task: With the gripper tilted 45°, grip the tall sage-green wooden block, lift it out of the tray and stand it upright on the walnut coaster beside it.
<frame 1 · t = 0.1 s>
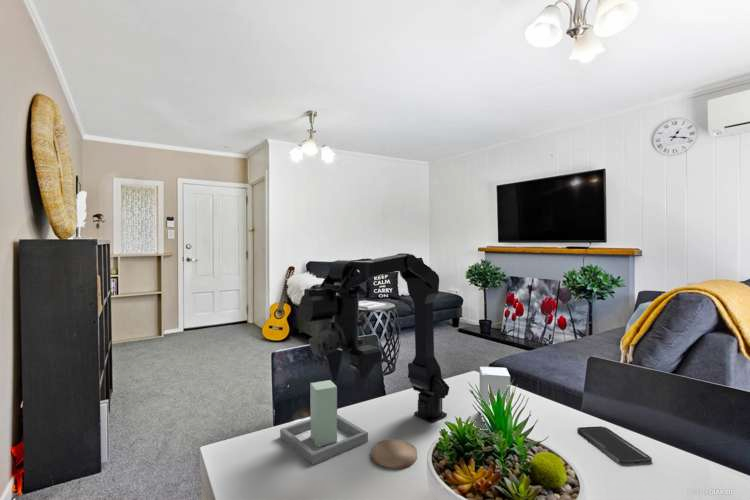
hand: (345, 386, 84), 15 cm above the table, tool pointing down, fingers open, 9 cm apart
phone: (611, 448, 87), on the table
supplement box: (494, 418, 101), on the table
tray: (323, 439, 90), on the table
coaster: (394, 455, 83), on the table
green block: (323, 412, 90), in the tray
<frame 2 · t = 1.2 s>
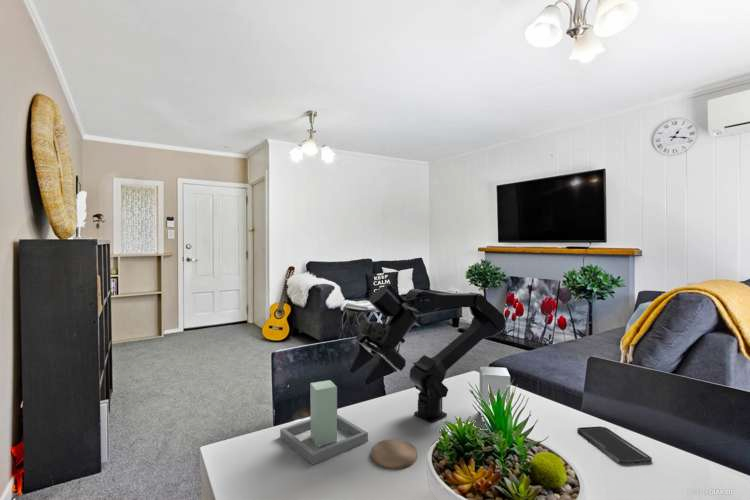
hand: (357, 377, 94), 13 cm above the table, tool tilted 45°, fingers open, 9 cm apart
nothing on the table moved.
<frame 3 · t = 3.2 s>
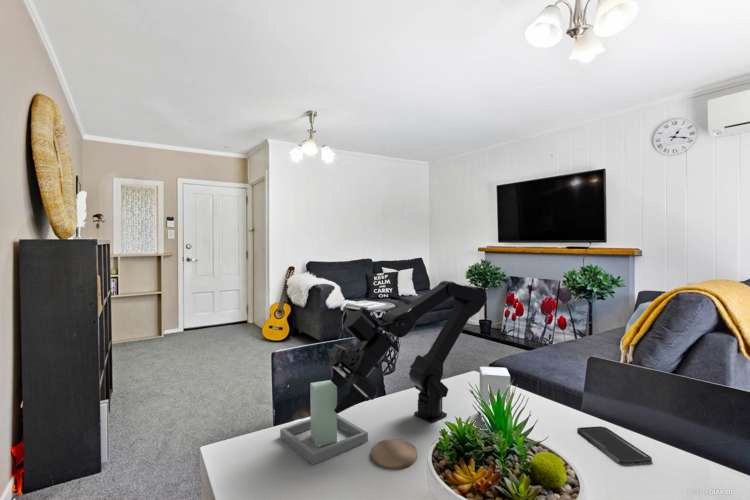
hand: (329, 404, 91), 8 cm above the table, tool tilted 45°, fingers open, 9 cm apart
nothing on the table moved.
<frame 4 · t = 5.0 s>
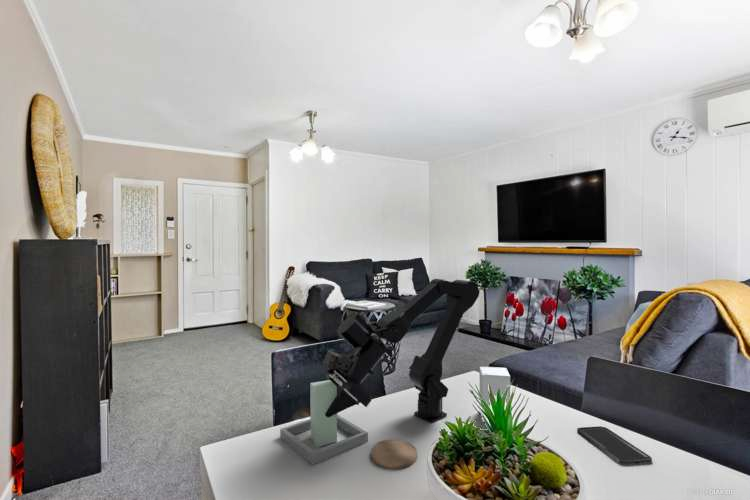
hand: (322, 411, 90), 7 cm above the table, tool tilted 45°, fingers closed on green block, 5 cm apart
green block: (323, 412, 90), in the tray, touching gripper
everything else where it was.
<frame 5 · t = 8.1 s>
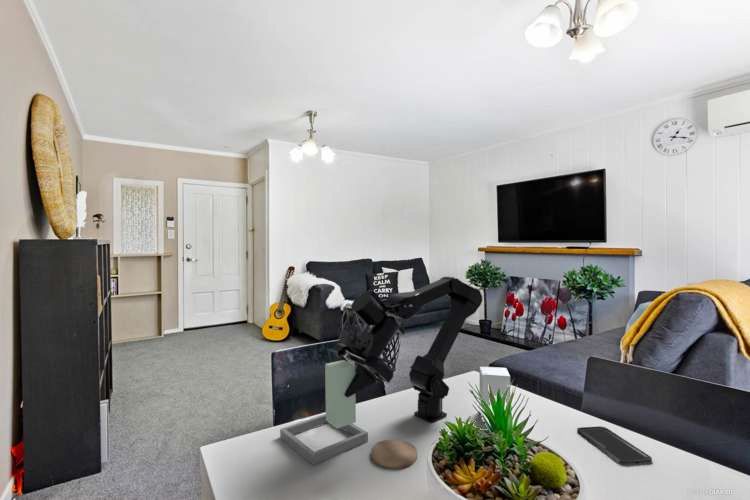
hand: (339, 392, 86), 13 cm above the table, tool tilted 45°, fingers closed on green block, 5 cm apart
green block: (340, 392, 86), point 12 cm above the table, touching gripper
everything else where it was.
when the fingers open (9 cm above the table, at t = 11.5 s): green block drops 1 cm, resting on coaster.
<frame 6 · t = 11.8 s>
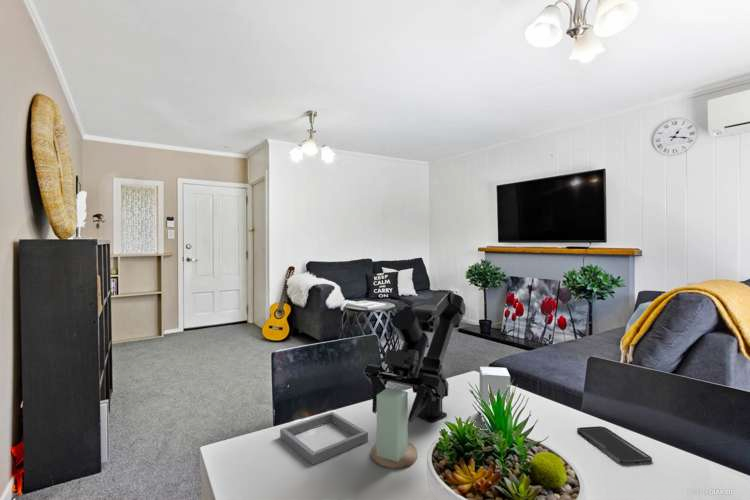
hand: (391, 416, 82), 9 cm above the table, tool tilted 45°, fingers open, 8 cm apart
green block: (392, 423, 82), on the coaster, point 8 cm above the table
everything else where it was.
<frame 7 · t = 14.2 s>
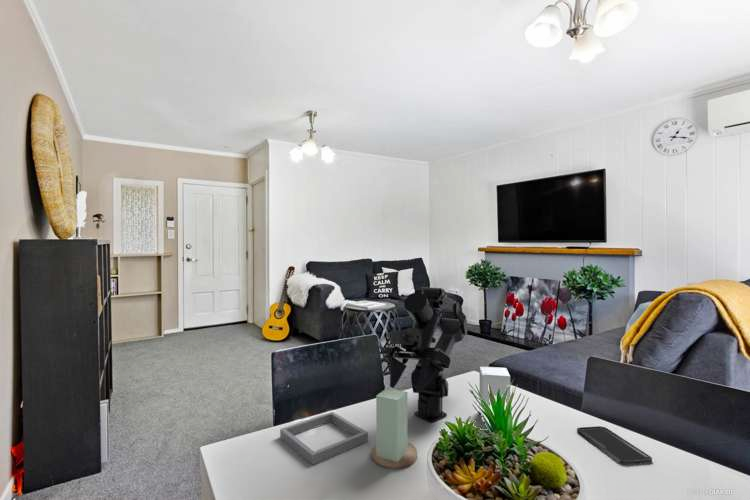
hand: (404, 389, 91), 11 cm above the table, tool tilted 35°, fingers open, 9 cm apart
nothing on the table moved.
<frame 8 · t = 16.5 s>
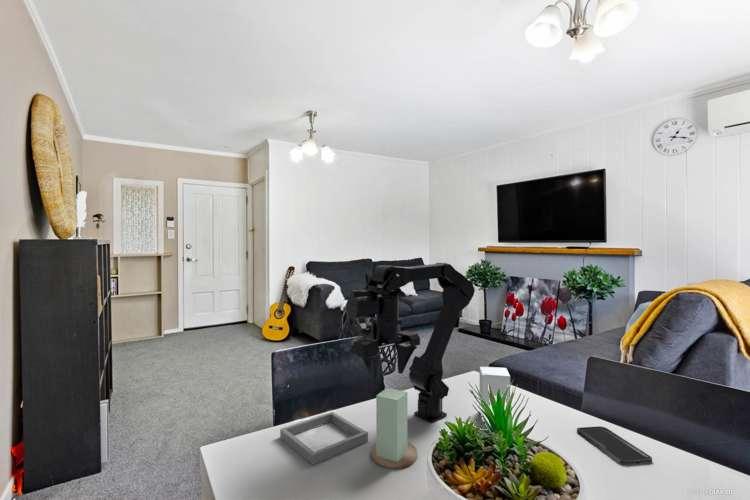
hand: (387, 377, 95), 13 cm above the table, tool pointing down, fingers open, 9 cm apart
nothing on the table moved.
at the end: green block 1.1 cm off-centre on the coaster, point 7.5 cm above the coaster's base; green block tilted 0°; the gripper is holding nothing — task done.
